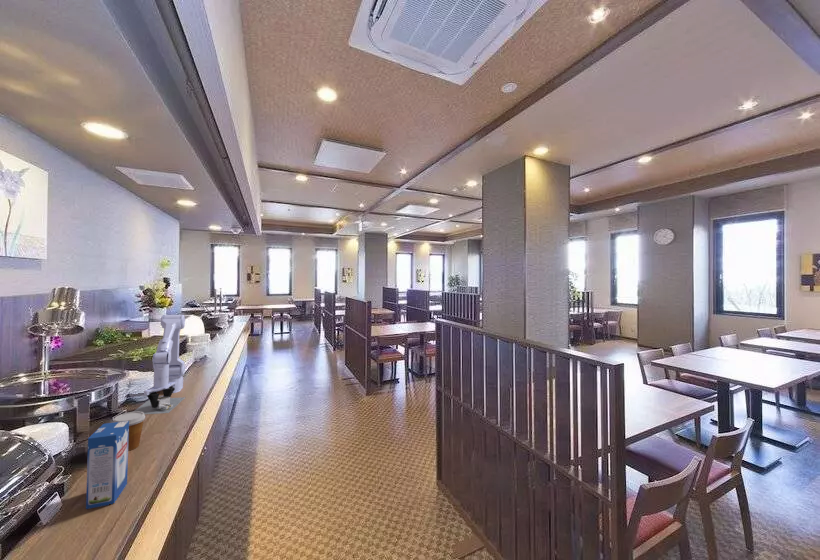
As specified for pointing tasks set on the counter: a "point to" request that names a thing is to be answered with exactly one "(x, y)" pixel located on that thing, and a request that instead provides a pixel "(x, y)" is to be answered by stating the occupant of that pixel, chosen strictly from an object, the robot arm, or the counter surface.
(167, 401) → the metal bracket with prongs
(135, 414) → the disposable coffee cup
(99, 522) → the counter surface
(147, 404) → the base plate
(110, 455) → the milk carton
